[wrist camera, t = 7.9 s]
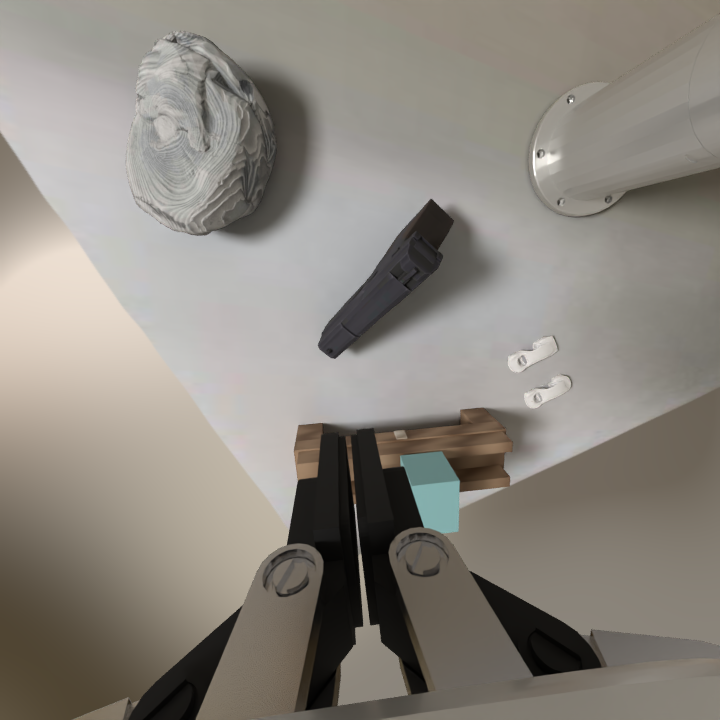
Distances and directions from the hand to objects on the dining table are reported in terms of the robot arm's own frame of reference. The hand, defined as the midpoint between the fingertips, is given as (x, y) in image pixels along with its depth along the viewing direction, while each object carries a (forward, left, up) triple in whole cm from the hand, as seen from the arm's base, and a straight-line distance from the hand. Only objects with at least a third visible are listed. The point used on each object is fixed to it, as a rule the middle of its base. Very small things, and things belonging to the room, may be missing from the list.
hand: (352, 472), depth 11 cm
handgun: (-5, -4, -30) cm, 31 cm away
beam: (-6, +16, -30) cm, 34 cm away
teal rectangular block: (-8, +16, -24) cm, 29 cm away
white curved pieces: (-26, +9, -31) cm, 41 cm away
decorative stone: (+11, -17, -30) cm, 37 cm away
